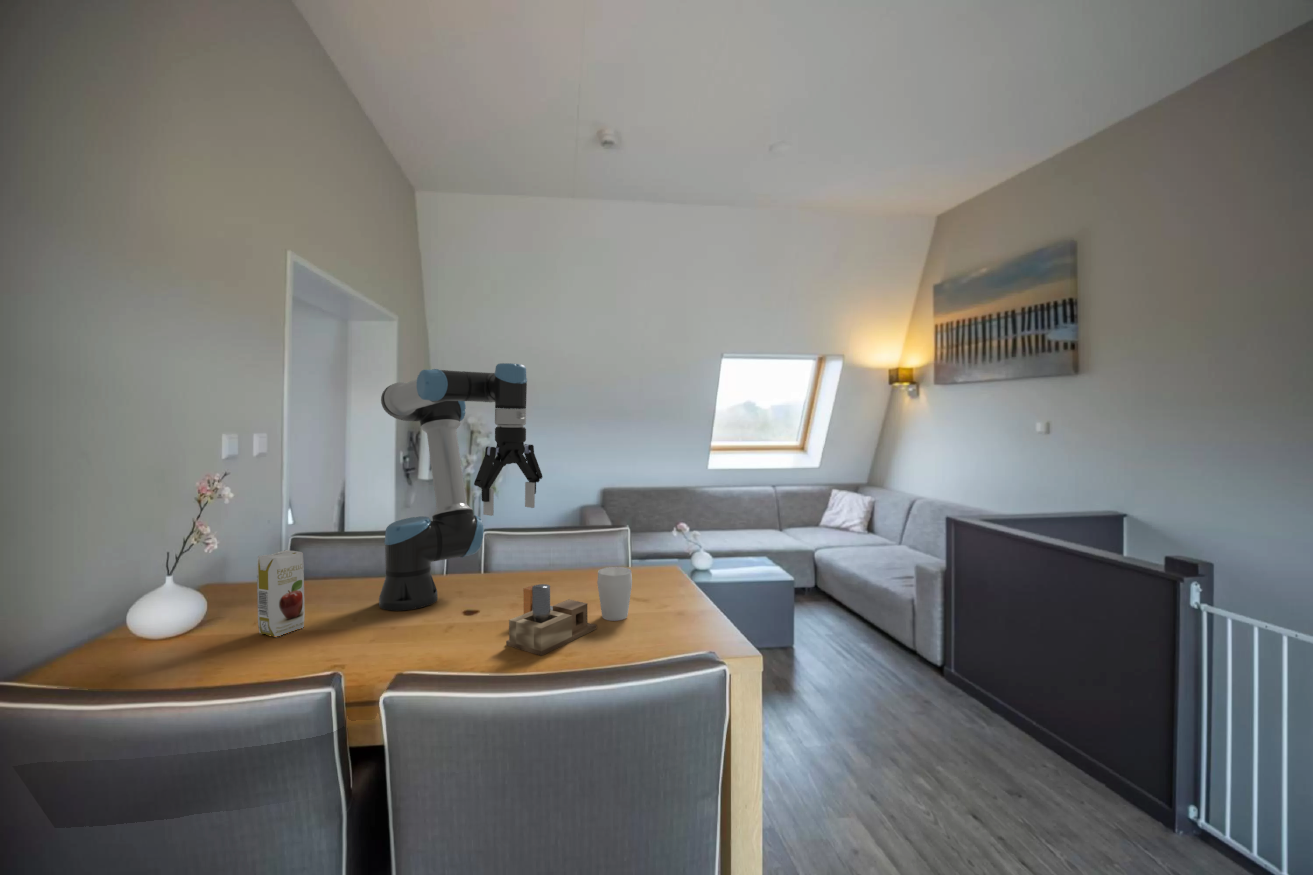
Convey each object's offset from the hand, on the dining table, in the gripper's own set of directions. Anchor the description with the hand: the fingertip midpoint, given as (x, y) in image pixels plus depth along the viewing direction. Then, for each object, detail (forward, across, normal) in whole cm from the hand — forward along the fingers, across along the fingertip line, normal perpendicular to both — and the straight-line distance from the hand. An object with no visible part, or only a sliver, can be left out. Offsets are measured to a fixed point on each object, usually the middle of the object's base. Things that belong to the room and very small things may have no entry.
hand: (509, 511), depth 142 cm
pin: (+28, +4, -9) cm, 30 cm away
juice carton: (+30, -34, +42) cm, 62 cm away
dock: (+28, -1, -16) cm, 32 cm away
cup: (+28, +18, -20) cm, 39 cm away
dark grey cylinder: (+27, -5, -16) cm, 32 cm away
